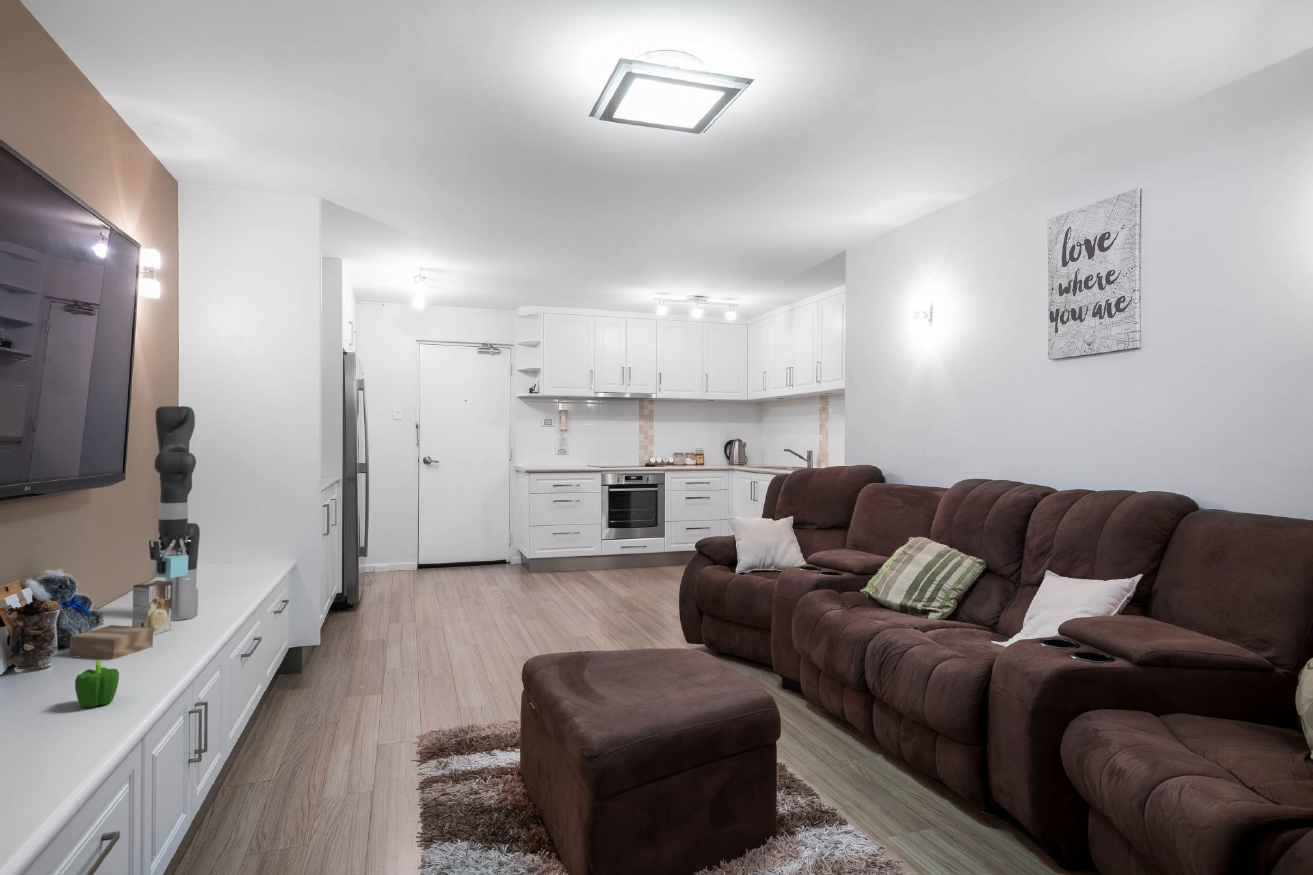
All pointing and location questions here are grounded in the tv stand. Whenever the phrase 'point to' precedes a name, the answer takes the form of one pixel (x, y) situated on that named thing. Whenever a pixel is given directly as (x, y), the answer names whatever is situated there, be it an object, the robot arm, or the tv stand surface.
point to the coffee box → (153, 605)
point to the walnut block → (111, 642)
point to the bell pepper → (96, 686)
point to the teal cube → (174, 566)
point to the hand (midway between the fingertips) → (171, 571)
